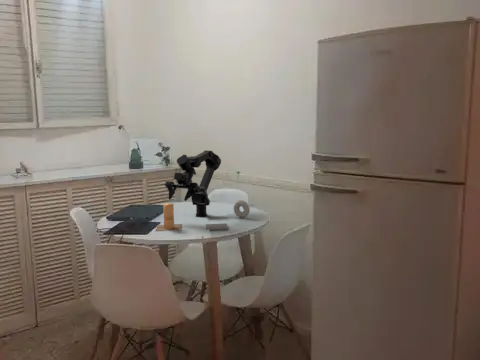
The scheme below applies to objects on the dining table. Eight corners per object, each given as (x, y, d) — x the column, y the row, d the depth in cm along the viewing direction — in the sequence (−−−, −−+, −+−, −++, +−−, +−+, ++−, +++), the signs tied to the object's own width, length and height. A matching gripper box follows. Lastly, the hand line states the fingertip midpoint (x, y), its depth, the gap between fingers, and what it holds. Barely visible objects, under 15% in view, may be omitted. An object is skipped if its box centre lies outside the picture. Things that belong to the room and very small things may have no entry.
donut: (232, 217, 276) (232, 200, 274) (235, 216, 279) (235, 198, 277) (247, 219, 270) (247, 201, 269) (251, 218, 273) (250, 200, 272)
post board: (157, 226, 257) (156, 218, 256) (182, 225, 258) (182, 217, 257) (155, 233, 244) (155, 224, 243) (182, 232, 245) (181, 223, 245)
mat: (205, 226, 257) (205, 224, 257) (226, 225, 258) (226, 223, 258) (206, 231, 246) (206, 229, 246) (228, 230, 248) (228, 228, 247)
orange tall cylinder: (164, 226, 253) (163, 203, 251) (174, 226, 254) (173, 203, 252) (163, 228, 248) (163, 205, 246) (174, 228, 249) (173, 205, 247)
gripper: (166, 166, 262) (155, 189, 254) (197, 167, 255) (187, 191, 247) (174, 178, 271) (163, 202, 262) (204, 180, 263) (195, 204, 255)
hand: (177, 199), depth 256 cm, fingers open, 9 cm apart
